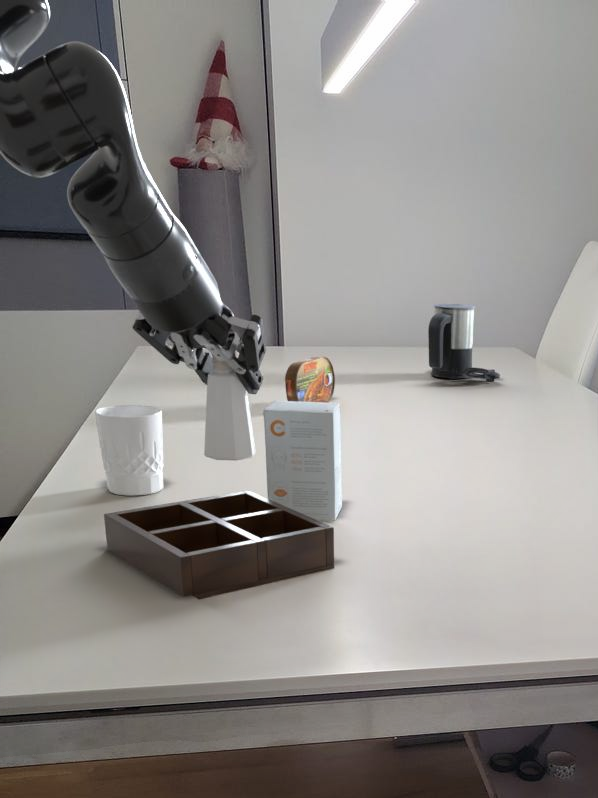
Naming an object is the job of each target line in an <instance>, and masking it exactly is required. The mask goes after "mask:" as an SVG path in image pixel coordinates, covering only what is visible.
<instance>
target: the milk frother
mask: <svg viewBox="0 0 598 798" xmlns="http://www.w3.org/2000/svg"><path fill="white" fill-rule="evenodd" d="M432 306H433V308H434V314H433V316H432V317H431V318H430V320H429V323H428V328H427V329H428V332H427V333H428V334H427V335H428V366H429V367H430V368H431V372H430V375H431V376H434V377H437V378H444V379H445V378H446V379H452V380H453V379H468V378H476V379H481V380H482V379H483V380H485V382H487V383H493V382H495V380H499V379H500V378H501V374H500V372H497V371H496V370H495V369H487V368H482V367H473V342H474V341H473V340H474V321H475V320H474V318H475V309H476V307H477V306H474V305H469V304H459V303H434V304H433V305H432Z"/></svg>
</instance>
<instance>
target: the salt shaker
mask: <svg viewBox="0 0 598 798" xmlns="http://www.w3.org/2000/svg"><path fill="white" fill-rule="evenodd" d="M210 355H211V356H212V363H213V369H214V370H213V371H212V372H211V373H209V374H208V380H207V385H206V401H205V402H206V403H205V424H204V425H205V429H204V452H203V455H204V457H206V458H209V459H211V460H215V461H235V462H236V461H241V460H247V459H252V458H253V457H254V456H255V454H256V453H257V451H256V445H255V438H254V437H255V436H254V431H253V430H254V429H253V424H252V417H251V416H252V415H251V409H250V403H249V396H248V395H249V394H248V392H247V391H246V389H245V388H244V386H243V384H242V383H241V381H240V380H239V378H238V377H237V375H236V374H235V373H236V372H235V371H234V370H233V369H232V368H231V367H230V366H229V365H228V364H227V363H226V362H225V361H224V362H220V361H219V360H218V359H217V358H216V357H215V356H214V355H213V354H212V353H211V352H210ZM238 355H239V353H238V352H237V350H236V351H235V356H236V357H237V358H238Z"/></svg>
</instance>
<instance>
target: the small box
mask: <svg viewBox="0 0 598 798" xmlns="http://www.w3.org/2000/svg"><path fill="white" fill-rule="evenodd" d="M340 406H341V405H340V402H328V403H323V402H295V401H288V400H274V401H272V402H271V403H269V405H268V406H267V407H266V408H264V409H263V411H262V413H263V427H264V444H265V445H264V446H265V469H266V470H265V471H266V489H267V490H266V491H267V492H266V493H267V499H269V500H272V501H274V502H276V503H279V504H281V505H283V506H286V507H288V508H290V509H293V510H295V511H297V512H299V513H302V514H304V515H306V516H309V517H311V518H313V519H316V520H318V521H322V522H323V521H324V522H335V521H336V519H337V517H338V515H339V513H340V511H341V509H342V507H343V491H342V490H343V487H342V485H343V483H342V482H343V481H342V443H341V442H342V441H341V440H342V439H341V409H340V408H341V407H340Z"/></svg>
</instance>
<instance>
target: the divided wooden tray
mask: <svg viewBox="0 0 598 798" xmlns="http://www.w3.org/2000/svg"><path fill="white" fill-rule="evenodd" d="M103 519H104V520H103V521H104V530H105V539H106V548H107V551H109V552H111V553H112V554H114V555H115V556H117V557H119V558H120V559H122V560H123V561H125V562H127V563H128V564H130V565H131V566H133V567H134V568H137V570H140V571H141V572H143V573H144V574H146V575H148V576H149V577H150V578H153V579H154V580H156V581H157V582H159V583H160V584H162V585H163V586H165V587H167V588H169V589H170V590H172V591H173V592H175V593H176V594H178V595H180V597H183V598H185V597H189V596H193V597H194V598H196V599H197V600H203V599H207V598H211V597H216V596H219V595H220V596H221V595H224V594H228V593H233V592H237V591H241V590H245V589H249V588H255V587H259V586H262V585H267V584H272V583H277V582H281V581H286V580H290V579H293V578H297V577H298V578H299V577H302V576H307V575H311V574H316V573H319V572H324V571H325V572H326V571H329V570H333V569H335V537H334V536H335V528H334V526H332V525H329V524H327V523H325V522H323V521H321V520H316V519H313V518H311V517H309V516H306V515H304V514H302V513H299V512H297V511H295V510H293V509H290V508H288V507H286V506H283V505H281V504H279V503H276V502H274V501H272V500H269V499H268V497H264V496H263V495H260V494H258V493H256V492H253V491H251V490H244V491H237V492H230V493H224V494H218V495H212V496H206V497H205V496H204V497H199V498H193V499H187V500H182V501H181V500H180V501H176V502H169V503H162V504H156V505H149V506H144V507H143V506H142V507H138V508H132V509H124V510H120V511H119V510H117V511H113V512H106V513H103Z"/></svg>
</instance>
